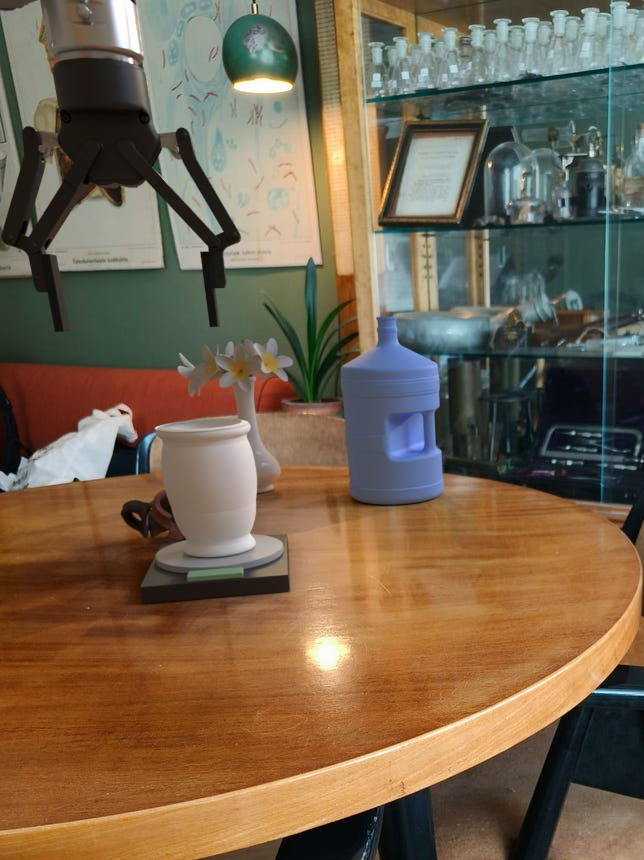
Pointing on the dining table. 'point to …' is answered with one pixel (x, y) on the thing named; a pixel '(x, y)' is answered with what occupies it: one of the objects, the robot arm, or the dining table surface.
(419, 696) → the dining table surface
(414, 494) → the water jug
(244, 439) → the jar
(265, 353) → the flower vase
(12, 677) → the dining table surface
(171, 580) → the scale
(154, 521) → the pottery mug
